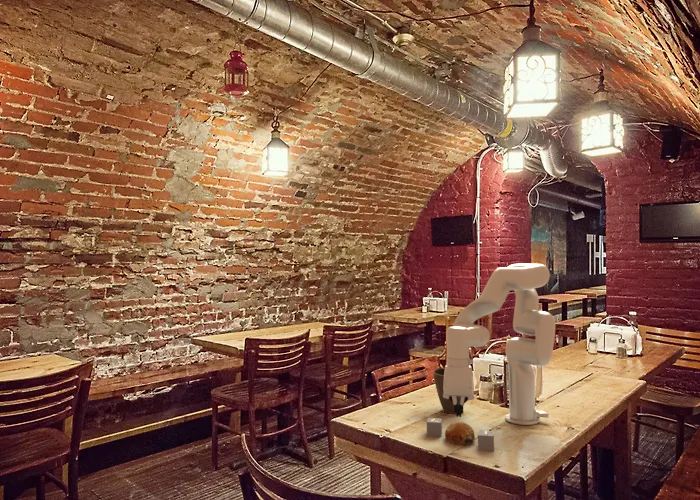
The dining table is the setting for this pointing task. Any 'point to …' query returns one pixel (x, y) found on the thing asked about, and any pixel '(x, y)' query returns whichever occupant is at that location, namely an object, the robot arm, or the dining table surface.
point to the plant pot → (439, 382)
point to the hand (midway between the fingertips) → (458, 415)
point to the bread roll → (459, 433)
